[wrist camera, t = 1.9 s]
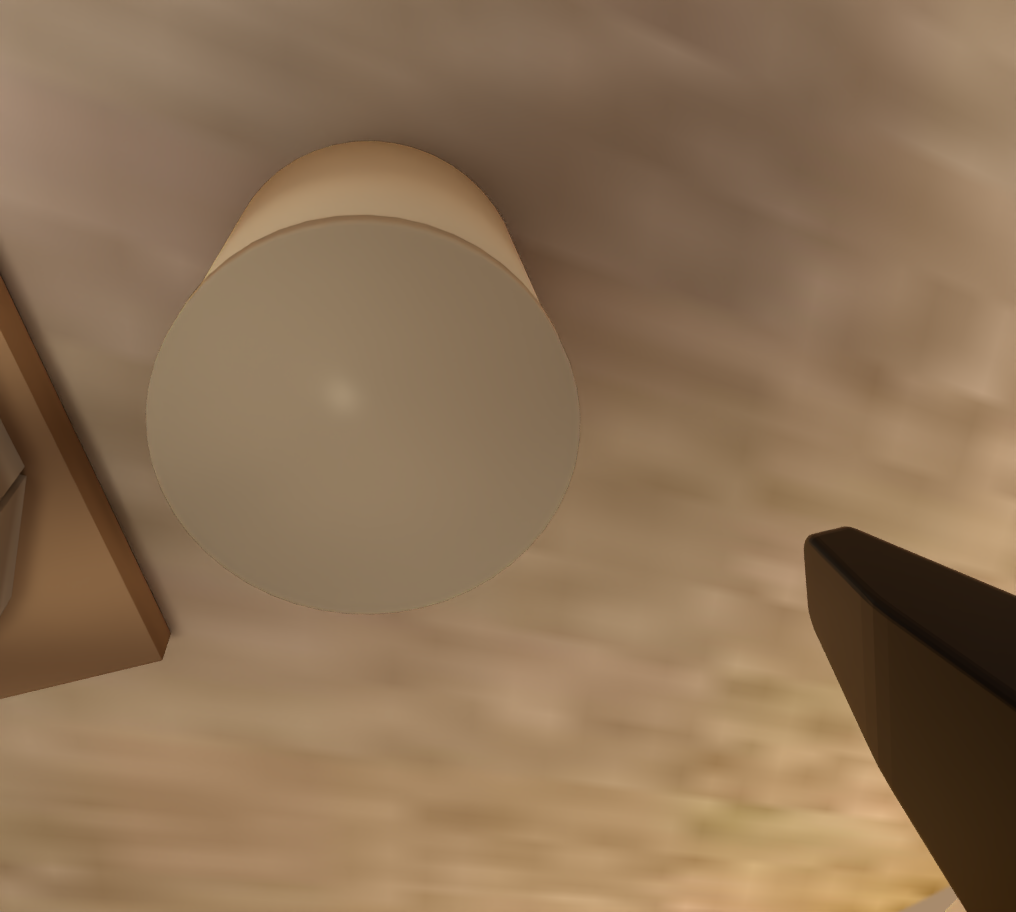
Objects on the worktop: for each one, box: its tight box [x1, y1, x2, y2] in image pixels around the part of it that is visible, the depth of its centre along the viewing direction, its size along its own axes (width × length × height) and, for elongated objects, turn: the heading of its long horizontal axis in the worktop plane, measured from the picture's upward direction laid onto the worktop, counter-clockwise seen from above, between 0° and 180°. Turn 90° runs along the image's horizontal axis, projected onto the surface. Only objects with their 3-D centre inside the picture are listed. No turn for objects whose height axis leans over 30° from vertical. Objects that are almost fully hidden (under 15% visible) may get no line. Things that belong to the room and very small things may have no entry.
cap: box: [146, 141, 580, 614], centre depth 17 cm, size 6×6×7 cm
